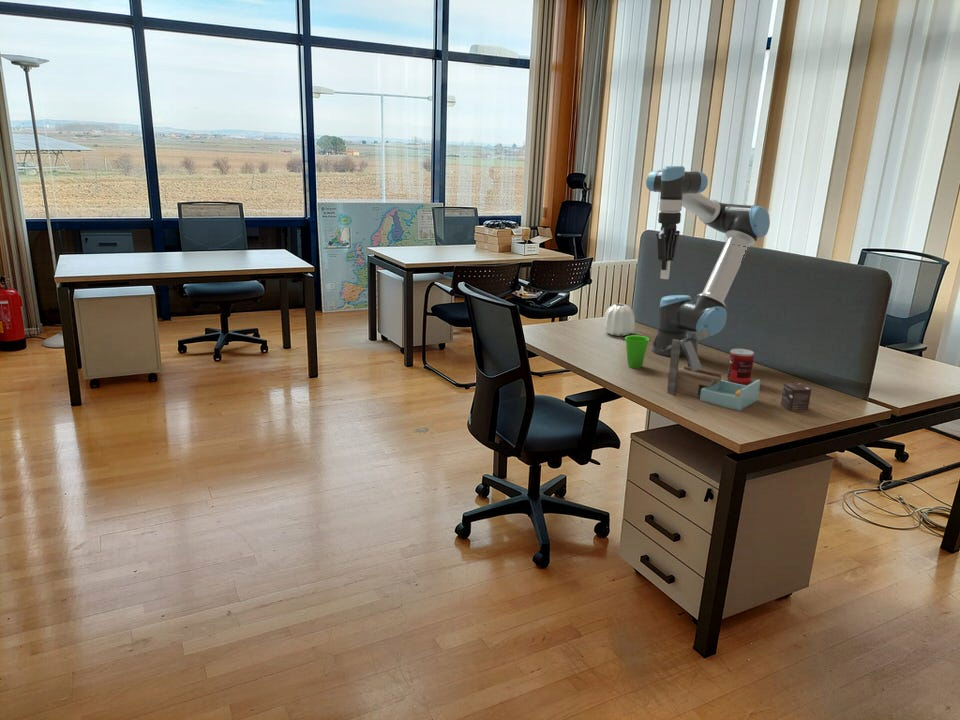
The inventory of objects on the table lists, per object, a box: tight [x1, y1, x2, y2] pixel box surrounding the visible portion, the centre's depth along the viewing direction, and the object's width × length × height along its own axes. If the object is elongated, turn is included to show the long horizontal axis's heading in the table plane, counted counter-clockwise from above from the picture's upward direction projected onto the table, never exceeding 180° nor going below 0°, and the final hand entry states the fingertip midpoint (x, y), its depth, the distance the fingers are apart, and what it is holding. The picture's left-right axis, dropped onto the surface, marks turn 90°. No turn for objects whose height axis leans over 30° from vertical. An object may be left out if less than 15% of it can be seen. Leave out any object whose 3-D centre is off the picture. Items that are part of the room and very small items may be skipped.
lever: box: [653, 328, 711, 371], centre depth 230 cm, size 11×19×12 cm
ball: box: [735, 390, 741, 397], centre depth 220 cm, size 4×4×4 cm
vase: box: [602, 303, 636, 337], centre depth 304 cm, size 14×14×13 cm
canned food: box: [727, 348, 755, 385], centre depth 241 cm, size 8×8×11 cm
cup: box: [624, 334, 651, 369], centre depth 257 cm, size 9×9×11 cm
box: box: [780, 382, 812, 412], centre depth 216 cm, size 6×6×7 cm
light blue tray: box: [699, 379, 761, 412], centre depth 222 cm, size 14×14×7 cm
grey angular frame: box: [667, 331, 723, 398], centre depth 229 cm, size 14×15×18 cm
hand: (664, 278), depth 245 cm, fingers closed
